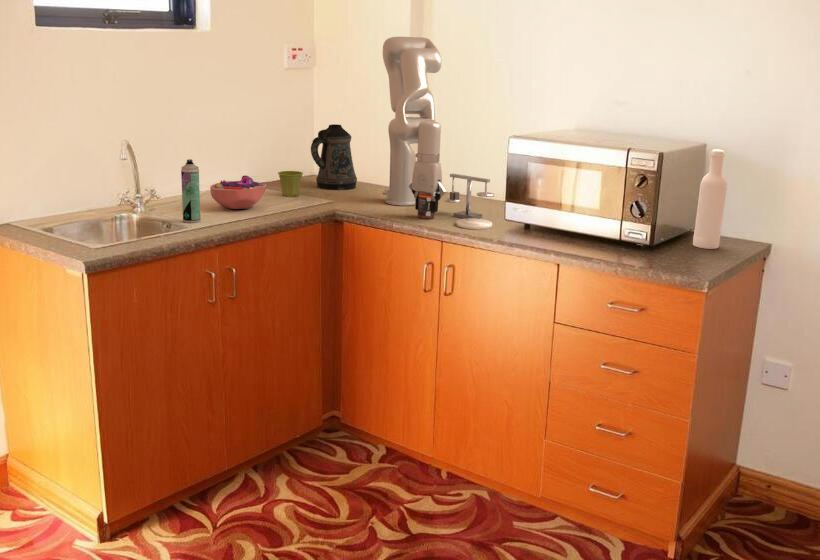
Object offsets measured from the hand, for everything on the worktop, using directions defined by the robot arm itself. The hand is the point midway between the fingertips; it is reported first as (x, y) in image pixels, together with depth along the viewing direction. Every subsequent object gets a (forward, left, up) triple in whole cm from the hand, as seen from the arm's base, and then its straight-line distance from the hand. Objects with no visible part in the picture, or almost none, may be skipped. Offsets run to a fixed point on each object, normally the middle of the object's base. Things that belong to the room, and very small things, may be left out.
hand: (426, 210), depth 297 cm
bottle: (+86, +33, -3) cm, 92 cm away
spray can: (-47, -63, -3) cm, 79 cm away
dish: (+19, +2, -3) cm, 19 cm away
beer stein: (-63, +19, -3) cm, 66 cm away
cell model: (-54, -38, -3) cm, 66 cm away
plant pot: (-61, -7, -3) cm, 61 cm away
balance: (+9, +12, -3) cm, 15 cm away
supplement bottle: (0, 0, -3) cm, 3 cm away
